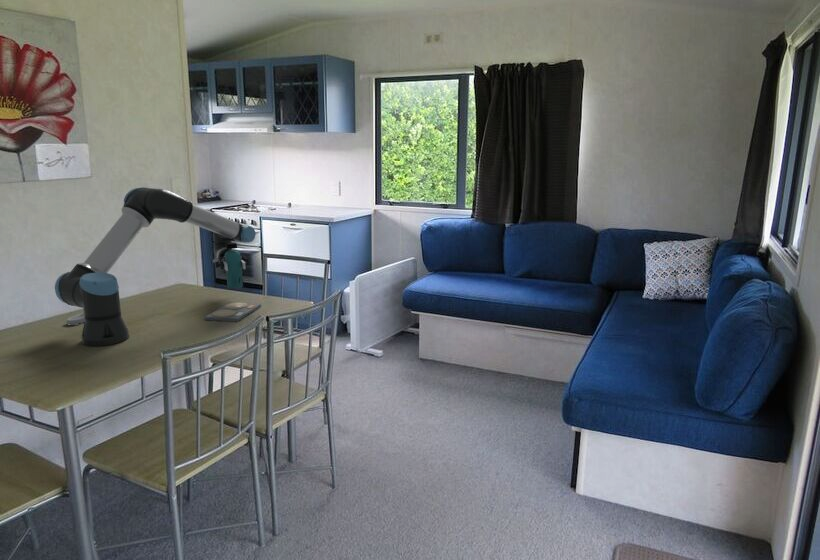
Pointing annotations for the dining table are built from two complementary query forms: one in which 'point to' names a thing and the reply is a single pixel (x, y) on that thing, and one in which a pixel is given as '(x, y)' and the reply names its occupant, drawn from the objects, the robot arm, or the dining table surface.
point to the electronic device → (76, 319)
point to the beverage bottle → (233, 267)
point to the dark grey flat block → (233, 311)
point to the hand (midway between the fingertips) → (235, 266)
